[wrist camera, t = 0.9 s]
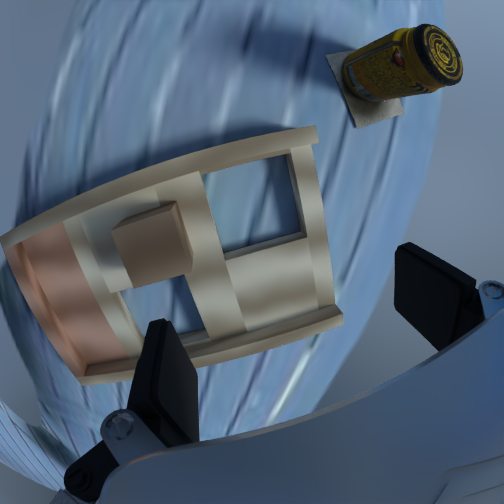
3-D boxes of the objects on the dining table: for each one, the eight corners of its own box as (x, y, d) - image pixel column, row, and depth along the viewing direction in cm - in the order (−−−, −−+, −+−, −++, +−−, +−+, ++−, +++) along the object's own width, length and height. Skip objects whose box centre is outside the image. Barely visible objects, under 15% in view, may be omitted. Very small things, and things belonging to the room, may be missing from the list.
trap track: (18, 226, 22) (-2, 237, 18) (299, 128, 24) (315, 125, 20) (90, 365, 29) (82, 385, 25) (329, 305, 31) (343, 324, 27)
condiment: (376, 47, 21) (449, 17, 10) (403, 113, 24) (484, 110, 13) (324, 55, 21) (392, 11, 10) (355, 128, 24) (439, 125, 13)
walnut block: (124, 218, 22) (110, 230, 18) (176, 200, 22) (170, 210, 19) (143, 268, 24) (134, 288, 20) (193, 253, 24) (191, 272, 20)
